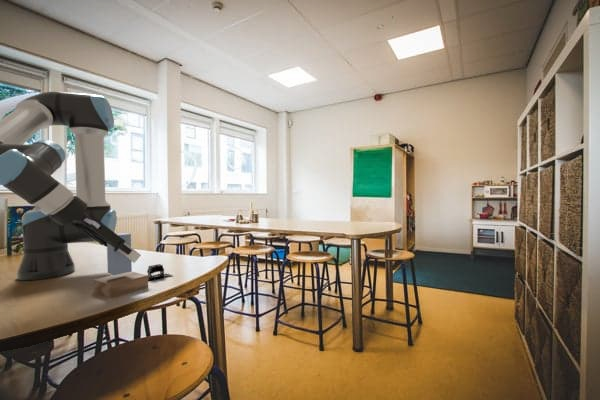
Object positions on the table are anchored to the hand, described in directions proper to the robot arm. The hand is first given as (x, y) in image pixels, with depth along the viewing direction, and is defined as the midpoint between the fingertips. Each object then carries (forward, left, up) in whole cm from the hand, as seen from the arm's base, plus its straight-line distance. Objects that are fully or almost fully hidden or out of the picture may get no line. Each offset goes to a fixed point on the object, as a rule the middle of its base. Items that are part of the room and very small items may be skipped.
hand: (133, 257), depth 84 cm
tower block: (0, -4, -4) cm, 5 cm away
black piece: (-3, +8, -10) cm, 13 cm away
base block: (0, -3, -9) cm, 10 cm away
